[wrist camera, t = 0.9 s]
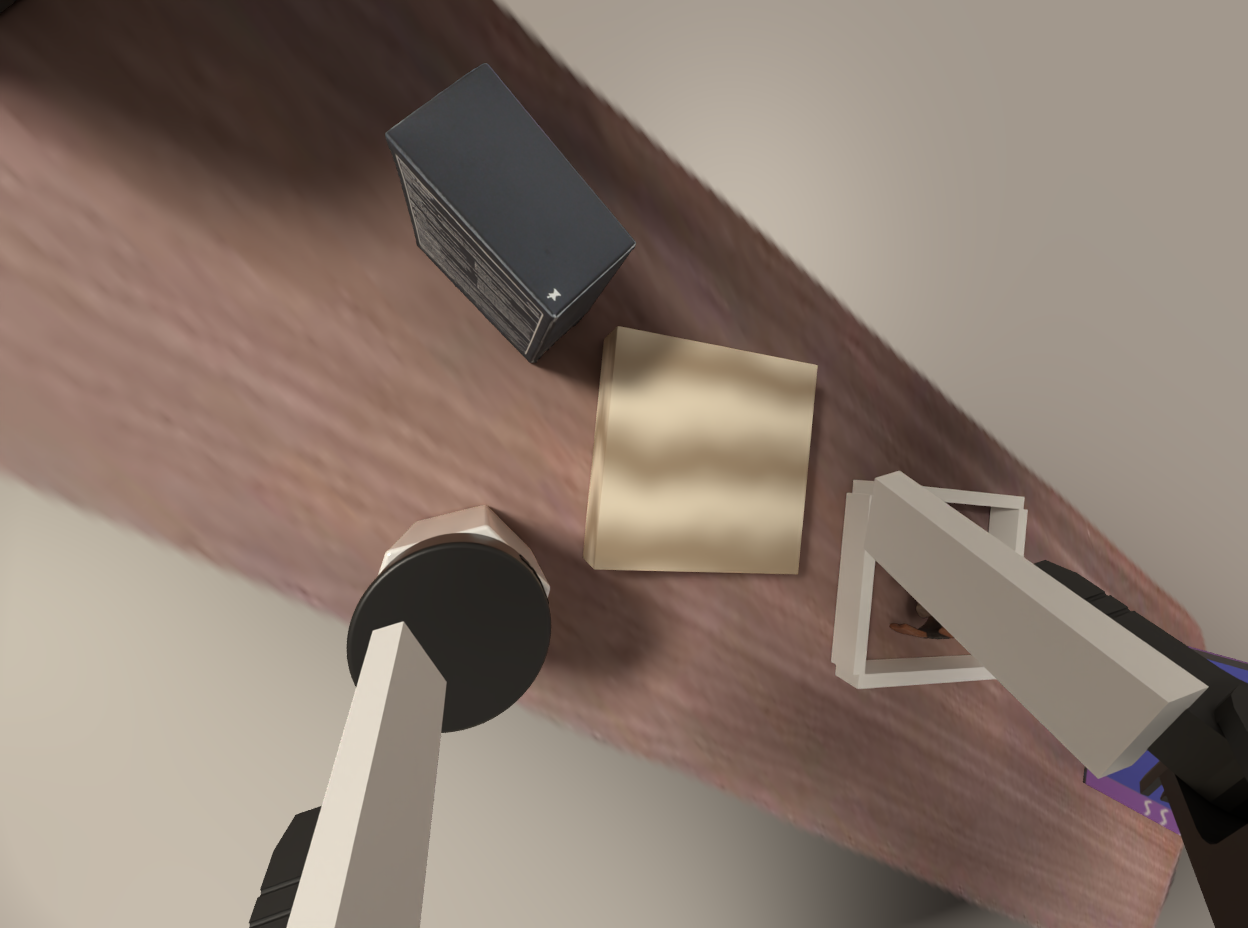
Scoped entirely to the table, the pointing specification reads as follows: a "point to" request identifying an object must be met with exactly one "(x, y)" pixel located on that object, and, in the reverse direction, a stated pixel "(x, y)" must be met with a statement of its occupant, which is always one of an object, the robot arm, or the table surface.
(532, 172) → the small box
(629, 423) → the maple base
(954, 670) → the grey tray rim
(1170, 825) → the cereal box
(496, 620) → the jar
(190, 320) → the table surface
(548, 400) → the table surface
